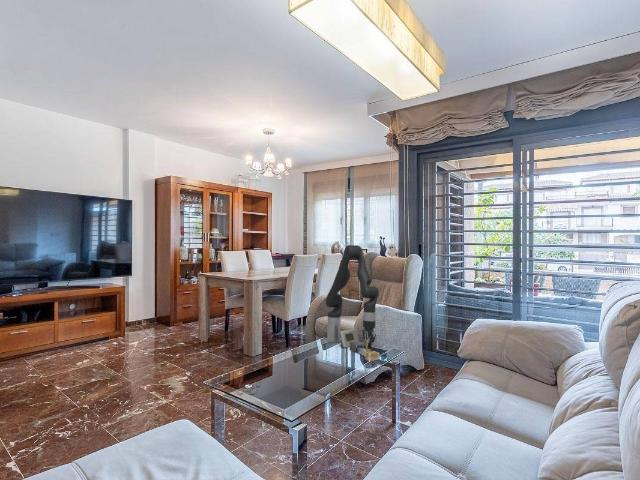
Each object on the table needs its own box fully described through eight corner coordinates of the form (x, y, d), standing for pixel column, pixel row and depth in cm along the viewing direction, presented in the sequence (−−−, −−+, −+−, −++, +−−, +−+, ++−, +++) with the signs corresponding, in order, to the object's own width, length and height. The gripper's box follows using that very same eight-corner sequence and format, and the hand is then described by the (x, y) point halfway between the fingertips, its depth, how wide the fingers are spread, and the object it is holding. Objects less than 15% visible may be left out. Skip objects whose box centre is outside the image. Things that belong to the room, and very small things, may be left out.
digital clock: (343, 349, 235) (344, 332, 235) (335, 345, 242) (335, 330, 243) (362, 346, 244) (362, 330, 244) (353, 343, 251) (354, 327, 252)
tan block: (364, 358, 213) (365, 351, 213) (374, 358, 216) (375, 351, 216) (369, 361, 208) (369, 354, 209) (379, 360, 211) (379, 353, 211)
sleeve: (349, 349, 233) (349, 342, 233) (358, 349, 235) (358, 341, 235) (354, 352, 226) (354, 344, 226) (363, 352, 229) (363, 344, 229)
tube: (355, 351, 228) (356, 335, 229) (360, 350, 229) (360, 334, 230) (369, 359, 212) (370, 341, 212) (374, 358, 213) (374, 341, 213)
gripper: (358, 317, 222) (357, 345, 222) (369, 321, 209) (368, 351, 209) (369, 317, 225) (368, 345, 224) (380, 321, 212) (379, 350, 211)
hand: (368, 348), depth 217 cm, fingers closed on tube, 2 cm apart
